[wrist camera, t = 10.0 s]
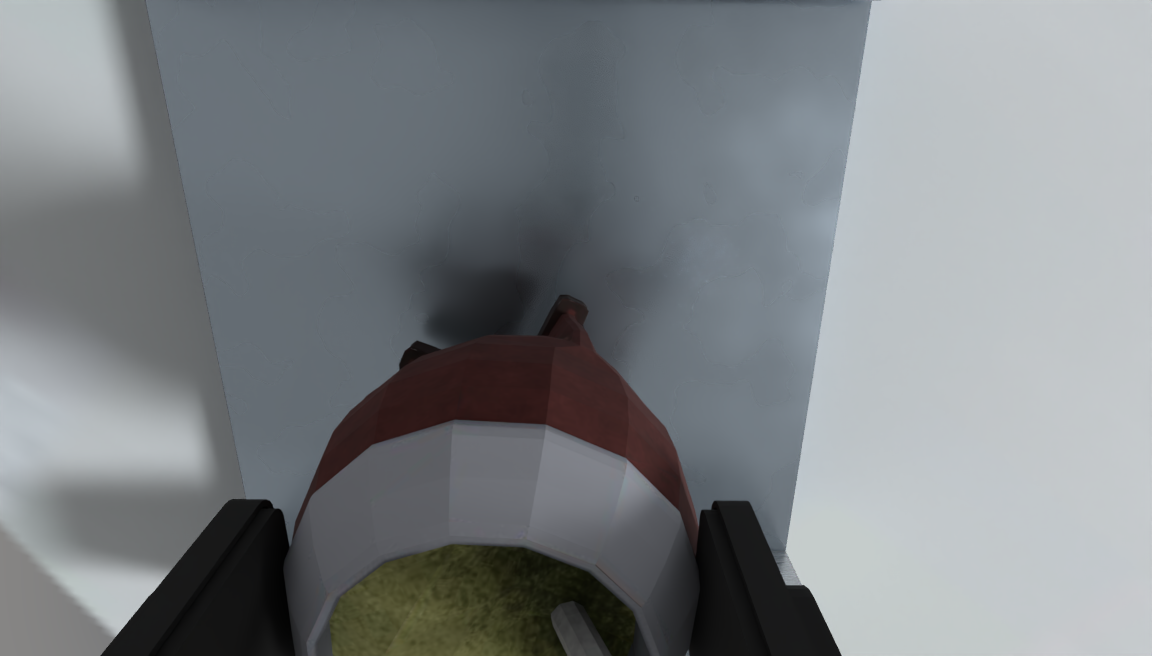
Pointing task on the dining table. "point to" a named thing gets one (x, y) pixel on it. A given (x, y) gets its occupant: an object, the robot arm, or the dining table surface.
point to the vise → (517, 206)
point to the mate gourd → (497, 511)
